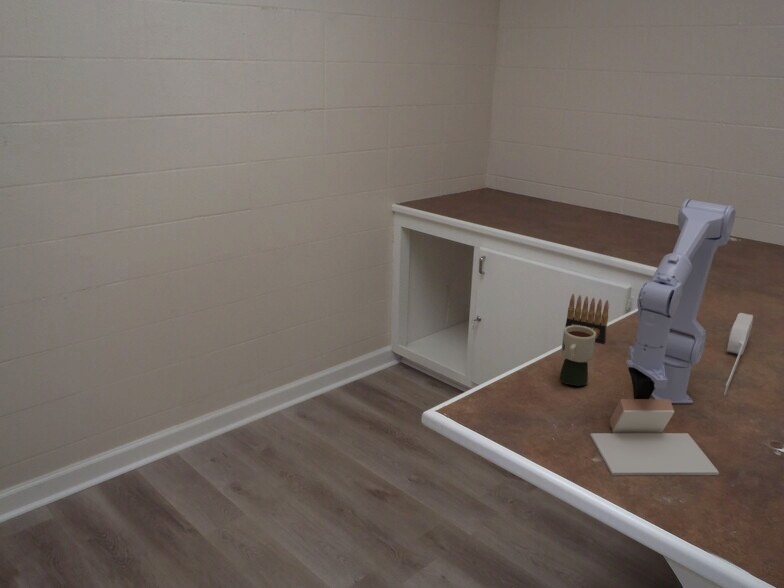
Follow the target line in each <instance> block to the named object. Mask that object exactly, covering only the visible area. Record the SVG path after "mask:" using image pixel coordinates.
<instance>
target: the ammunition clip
mask: <svg viewBox="0 0 784 588" xmlns="http://www.w3.org/2000/svg"><path fill="white" fill-rule="evenodd" d="M575 301H576V302H575ZM602 302H603V301H602V299H601V298H599V300H598V302H597V306H596V300H595V297H592V298H591V301H590V305H589V298H588V296H585V298H584V302H583V305H582V296H581V294H580V295H578V298H577V300H575V294H574V293H572V294H571V297H570V300H569V306H568V309H567V317H566V322H565V327H568V326H573V325H576V326H585V327H588V328H591V329H592V330H594V331H595V332H596V337H595V343H596V344H601V345H605V344H606V340H607V329H608V320H609V308H610V307H609V305H610V304H609V300H606V301H605V303H604V306H603V305H602V304H603V303H602ZM575 303H576V304H575ZM602 306H603V307H602ZM595 307H596V308H595ZM602 308H603V310H602ZM565 327H564V328H565Z"/></svg>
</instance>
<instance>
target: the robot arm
mask: <svg viewBox="0 0 784 588" xmlns="http://www.w3.org/2000/svg"><path fill="white" fill-rule="evenodd" d="M735 219H736V209H735V208H734V205H725V204H720V203H712V202H706V201H699V200H695V199H691V198H686V199H685V200H684V201H683V202H682V204H681V205H680V209H679V211H678V216H677V224H678V230H679V232H680V233H679V235H678V238H677V240H676V243H675V245H674V247H673V251H672V253H667V254H666V255H664V256H663V257H662V259H661V260H660V263H659V264H658V267H657V268H656V270H655V272H654V273H653V276H652V277H651V279H650V280H649V281H648V282H644V283H643V284H642V285H641V287H640V290H639V293H638V297H637V304H636V306H637V316H636V317H637V318H638V325H637V329H636V330H637V331H636V335H635V342H634V346H632V345H631V346H629V347H628V351H627V352H628V353H627V355H628V356H629V357H630V359H626V360H625V361H626V362H625V363H626V365H627V366H628V369H627V370H628V373H629V376H630V379H631V383H632V384H631V385H632V393H633V395H632V396H633V399H651V396H652V399H670V401H671V404H693V403H694V401H693V399H692V398H691V397H690V396H689V395H688V394H687V390H688V387H689V381H690V376H691V371H692V365H693V366H696V364H699V362H700V361H701V359H702V356H703V353H704V350H705V344H706V342H705V341H706V337H707V331H706V330H705V328H704V327H703V326H702V325H701V324H700V323H699V321H698V320H697V317H698V313H699V310H700V307H701V303H702V299H703V295H704V292H705V288H706V285H707V281H708V277H709V273H710V270H711V266H712V264H713V259H714V256H715V254H716V251H717V250H718V248H719V247H722V246H726V245H727V244H728V242H729V240H730V237H731V235H732V231H733V227H734V224H735Z"/></svg>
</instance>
